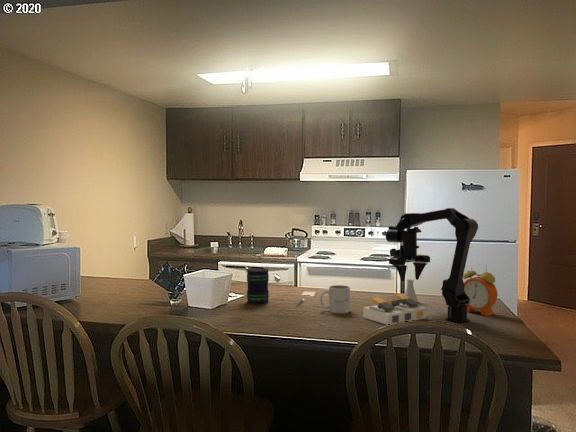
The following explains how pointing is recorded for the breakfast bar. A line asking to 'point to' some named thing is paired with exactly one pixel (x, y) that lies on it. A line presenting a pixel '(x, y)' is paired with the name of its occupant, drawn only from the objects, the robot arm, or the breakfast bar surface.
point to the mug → (338, 299)
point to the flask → (410, 290)
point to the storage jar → (257, 286)
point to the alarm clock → (480, 292)
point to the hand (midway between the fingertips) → (409, 280)
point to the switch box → (394, 314)
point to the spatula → (305, 294)
